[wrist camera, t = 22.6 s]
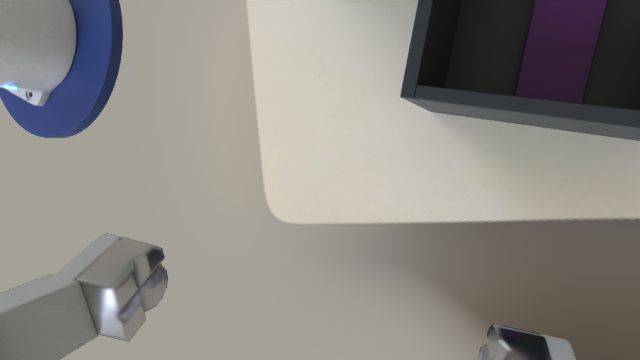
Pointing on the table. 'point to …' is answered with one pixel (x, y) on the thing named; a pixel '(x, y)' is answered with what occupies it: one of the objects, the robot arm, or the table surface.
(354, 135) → the table surface
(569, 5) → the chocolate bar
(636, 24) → the storage bin
